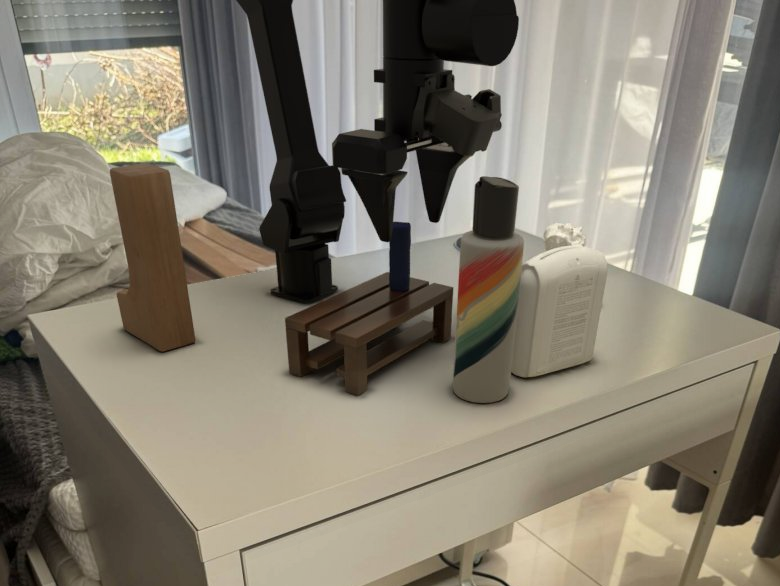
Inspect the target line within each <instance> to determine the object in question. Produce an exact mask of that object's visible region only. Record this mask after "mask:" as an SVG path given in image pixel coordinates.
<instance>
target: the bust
mask: <svg viewBox="0 0 780 586" xmlns="http://www.w3.org/2000/svg"><path fill="white" fill-rule="evenodd" d="M582 231H583V226H577V227H574V226H573V225H572V222H571V221H570V222H566V223H559V222H556V221H554V223H552V224H550V225H548V226H547V227H546V228H545V229H544V232H543V241H542V242H543V244H544V249H545V252H546V251H549V250H552V249H555V248H558V247H563V246H586V244H587V241H586V237H585V236H584V235H583V232H582Z"/></svg>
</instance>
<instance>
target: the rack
mask: <svg viewBox="0 0 780 586" xmlns="http://www.w3.org/2000/svg"><path fill="white" fill-rule="evenodd" d="M453 300H454V286H450V285H447V284H446V285H445V284H441V283H437V282H433V283H430V281H429V280H424V279H421V278H420V279H419V278H414V277H413V276H412V277H411V276H410V286H409V289H408V291H406V292H402V291H391V290H390V286H389V271H386V272H383V273H381V274H379V275H376V276H375V277H373V278H370V279H368V280H366V281H363V282H361V283H359V284H357V285H355V286H353V287H350V288H347V289H346V290H343V291H342V292H339V293H337V294H335V295H333V296H330V297H328V298H325V299H323V300H321V301H319V302H317V303H315V304H313V305H310V306H309V307H306V308H304V309H302V310H300V311H298V312H295V313H292V314H290V315H289V316H286V317H284V326H285V338H286V351H287V361H288V362H287V363H288V373H289V374H290V375H293V376H297V377H299V378H302V377H303V376H305V375H307V374H309V373H310V372H311V368H312V369H315V370H319V369H321V368H323V367H325V366H327V365H329V364H330V363H332V362H335V361H336V360H339V359H340V358H342V357H343V356H344V357H343V358H344V364H342V365H340V366H338V367H337V368H336V372H335V373H336V376H337V377H340V378H343V379H344V385H345V386H344V387H345V388H344V389H345V393H349V394H351V395H354V396H360V395H361V394H363V393H365V392H367V391H368V376H369V375H371V374H373V373H374V372H377V371H378V370H380V369H382V368H383V367H385V366H386V365H387V364H389V363H391V362H393V361H394V360H396V359H398V358H400V357H401V356H403V355H406V353H408V352H410V351H411V350H413V349H415V348H417V347H419V346H420V345H421V344H423V343H425V342H427V341H428V340H430V339H431V340H432V341H435V342H439V343H443V344H444V343H446V342H448V341H449V340H451V339H452V338H451V337H452V324H453V323H452V321H453V319H452V318H453V304H454V303H453V302H454V301H453ZM430 309H432V310H433V311H432V321H429V320H426V319H423V320H421V321H419V322H417V323H415V324H413V325H412V326H410V327H408V328H406V329H404V330H402V331H401V332H398V334H396V335H394V336H392V337H390V338H388V339H387V340H385V341H383V342H381V343H379V344H378V345H375V346H374V347H372V348H370V349H369V350H367V343H369V342H371V341H373V340H375V339H376V338H379V337H380V336H382V335H384V334H386V333H388V332H389V331H391V330H393V329H395V328H396V327H398V326H401V325H402V324H404V323H406V322H407V321H410V320H411V319H414V318H415V317H417V316H419V315H421V314H423V313H424V312H426V311H428V310H430ZM309 335H310V336H314V337H317V338H320V339H324V340H327V341H326V342H324V343H322V344H320V345H318V346H316V347H314V348H313V349H311V350H310V348H309Z"/></svg>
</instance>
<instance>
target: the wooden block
mask: <svg viewBox="0 0 780 586" xmlns="http://www.w3.org/2000/svg"><path fill="white" fill-rule="evenodd" d="M109 177H110V180H111V186H112V192H113V196H114V201H115V207H116V212H117V217H118V222H119V223H118V224H119V228H120V231H121V237H122V241H123V247H124V252H125V258H126V263H127V267H128V268H127V269H128V277H129V278H128V280H129V286H128V288H126V289H122V290H121V289H120V290H119V291H117V292H116V298H117V303H118V309H119V313H120V318H121V323H122V327H123V329H124V330H125V331H126V332H128V333H129V334H131V335H133V336H135V337H136V338H138V339H140V340H141V341H143V342H144V343H146V344H148V345H149V346H151V347H153V348H154V349H156V350H157V351H159V352H167V351H170V350H174V349H177V348H180V347H185V346H188V345H190V344H195V343H196V340H197V339H196V334H195V325H194V320H193V316H192V307H191V301H190V295H189V289H188V288H189V287H188V282H187V275H186V269H185V263H184V262H185V261H184V254H183V248H182V242H181V236H180V228H179V224H178V215H177V209H176V203H175V197H174V190H173V184H172V178H171V177H172V176H171V173H170V170H169V169H166V168H163V167H161V166H159V165H155V164H152V163H149V162H143V163H135V164H130V165H122V166H116V167H115V166H114V167H112V168H110V169H109Z"/></svg>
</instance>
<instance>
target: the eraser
mask: <svg viewBox="0 0 780 586" xmlns="http://www.w3.org/2000/svg"><path fill="white" fill-rule="evenodd" d="M411 233H412V224H411V223H410V222H409V221H407V222H406V221H404V222H403V221H393V229H392V236H391V241H390V242H388V246H389V249H388V266H389V270H388V272H389V286H390V290H391V291H402V292H406V291H408V289H409V286H410V277H411V246H412V234H411Z"/></svg>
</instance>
